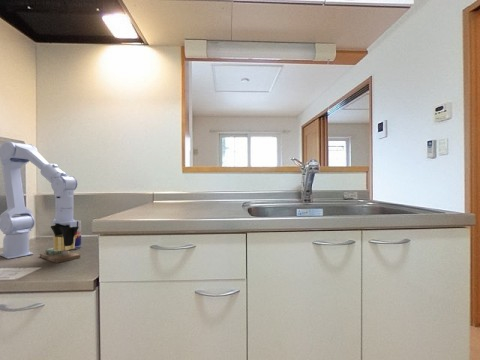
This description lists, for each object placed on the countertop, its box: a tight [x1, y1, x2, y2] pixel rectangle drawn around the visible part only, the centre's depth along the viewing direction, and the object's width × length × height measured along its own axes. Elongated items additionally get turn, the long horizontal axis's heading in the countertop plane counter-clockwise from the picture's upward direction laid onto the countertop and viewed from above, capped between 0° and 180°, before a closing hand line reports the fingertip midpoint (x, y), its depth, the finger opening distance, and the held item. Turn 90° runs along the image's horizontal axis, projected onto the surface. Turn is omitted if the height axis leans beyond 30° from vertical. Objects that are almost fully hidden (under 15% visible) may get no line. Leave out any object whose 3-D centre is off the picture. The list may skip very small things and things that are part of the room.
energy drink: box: [68, 219, 82, 251], centre depth 117 cm, size 5×5×12 cm
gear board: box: [39, 247, 81, 264], centre depth 103 cm, size 14×8×5 cm, turn 56°
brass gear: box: [52, 234, 75, 251], centre depth 101 cm, size 6×7×5 cm
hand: (64, 244), depth 101 cm, fingers closed on brass gear, 6 cm apart
